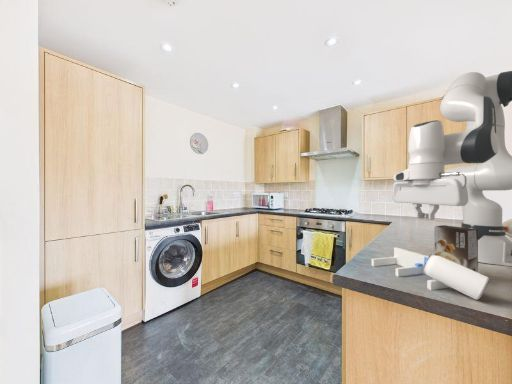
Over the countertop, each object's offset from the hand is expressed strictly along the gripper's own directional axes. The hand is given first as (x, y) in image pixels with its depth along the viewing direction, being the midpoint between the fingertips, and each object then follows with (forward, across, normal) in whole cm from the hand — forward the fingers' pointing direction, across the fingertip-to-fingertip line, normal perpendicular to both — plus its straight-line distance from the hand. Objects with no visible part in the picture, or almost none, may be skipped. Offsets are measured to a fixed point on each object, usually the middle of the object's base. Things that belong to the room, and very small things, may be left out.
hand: (425, 219), depth 66 cm
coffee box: (+19, 0, -13) cm, 23 cm away
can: (+16, -14, -2) cm, 21 cm away
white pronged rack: (+19, +5, -1) cm, 20 cm away
